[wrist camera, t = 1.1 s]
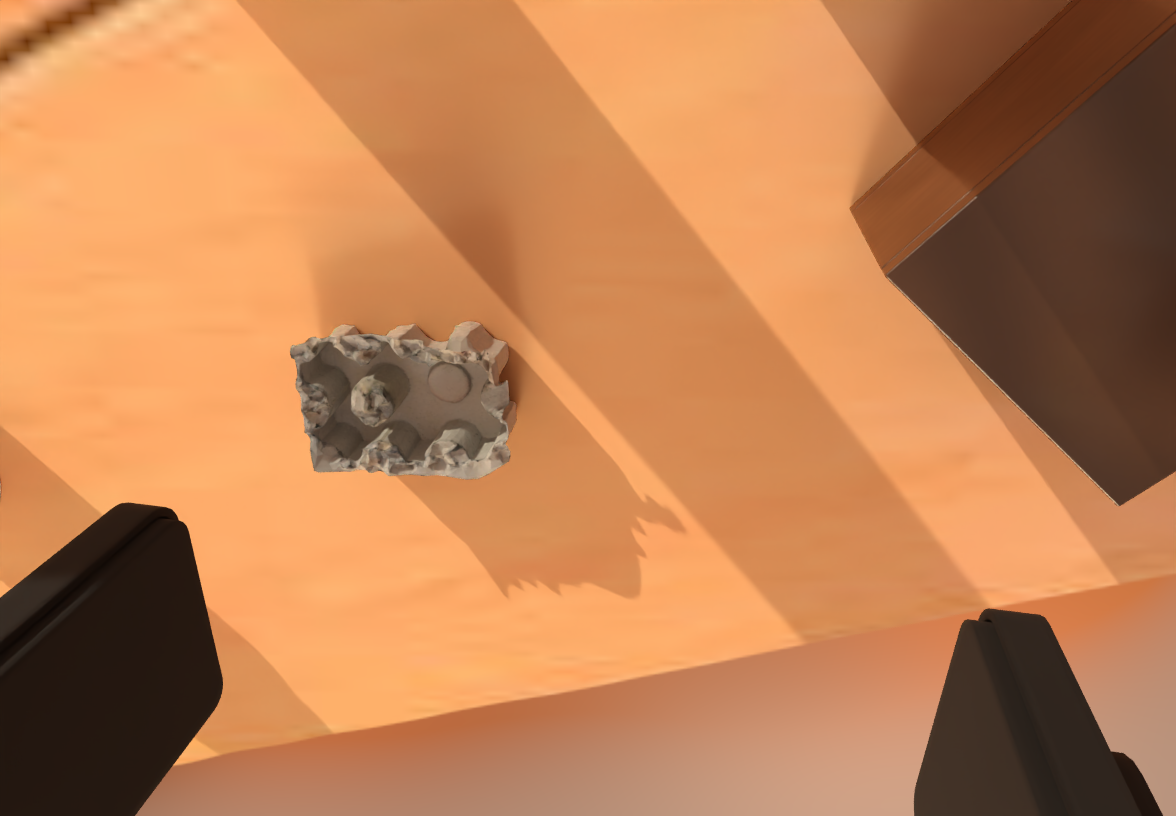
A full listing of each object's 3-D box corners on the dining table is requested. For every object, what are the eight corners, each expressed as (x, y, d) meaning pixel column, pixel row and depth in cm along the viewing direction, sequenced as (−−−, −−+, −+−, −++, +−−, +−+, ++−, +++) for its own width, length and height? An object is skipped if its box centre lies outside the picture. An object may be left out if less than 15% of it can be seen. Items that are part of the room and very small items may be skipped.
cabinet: (1166, -89, 30) (1338, -118, 21) (1364, 155, 32) (1588, 215, 24) (848, 208, 36) (884, 276, 28) (1034, 393, 39) (1118, 508, 30)
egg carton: (513, 317, 41) (493, 349, 37) (523, 450, 44) (506, 491, 41) (310, 313, 43) (272, 343, 39) (335, 441, 46) (301, 480, 42)
